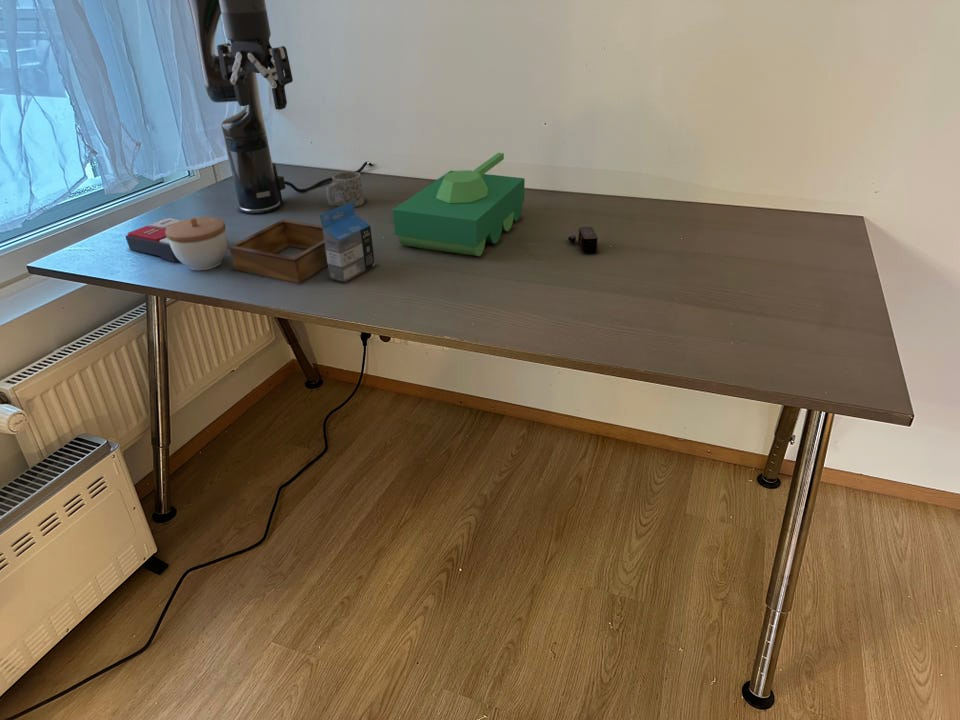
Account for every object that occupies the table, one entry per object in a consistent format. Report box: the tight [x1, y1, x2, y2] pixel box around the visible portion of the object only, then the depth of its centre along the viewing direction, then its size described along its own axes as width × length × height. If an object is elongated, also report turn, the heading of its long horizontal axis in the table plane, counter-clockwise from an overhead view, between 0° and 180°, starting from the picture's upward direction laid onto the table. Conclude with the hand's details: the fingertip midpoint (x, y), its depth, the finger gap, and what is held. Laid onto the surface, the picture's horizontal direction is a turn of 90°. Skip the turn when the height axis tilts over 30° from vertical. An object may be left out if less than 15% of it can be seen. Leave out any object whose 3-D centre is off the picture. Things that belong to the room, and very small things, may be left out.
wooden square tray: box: [227, 219, 328, 284], centre depth 129 cm, size 16×16×5 cm
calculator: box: [124, 217, 182, 263], centre depth 137 cm, size 11×4×15 cm
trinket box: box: [165, 216, 229, 271], centre depth 128 cm, size 11×11×9 cm
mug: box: [325, 170, 365, 208], centre depth 156 cm, size 10×7×7 cm
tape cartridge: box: [319, 201, 376, 283], centre depth 122 cm, size 9×4×12 cm, turn 148°
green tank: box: [392, 152, 526, 257], centre depth 141 cm, size 18×12×35 cm
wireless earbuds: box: [567, 226, 599, 255], centre depth 131 cm, size 5×7×3 cm, turn 2°
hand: (262, 107), depth 123 cm, fingers open, 8 cm apart
